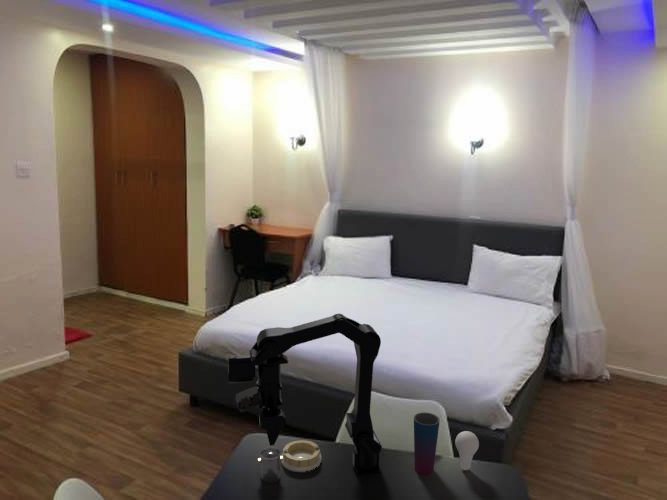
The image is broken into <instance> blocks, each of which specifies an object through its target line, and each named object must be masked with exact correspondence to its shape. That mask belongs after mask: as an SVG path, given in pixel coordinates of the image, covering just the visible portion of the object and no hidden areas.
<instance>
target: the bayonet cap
mask: <svg viewBox="0 0 667 500" xmlns="http://www.w3.org/2000/svg"><path fill="white" fill-rule="evenodd" d="M281 451H282V450H281V449H279V448H278V447H274V446H268V447H265V448H263V449H261V450H260V452H259V458H257V461H258V462H257V463H258V464H260V479H261V480H262V482H265V483H269V484H272V483H275V482H278V481H279V480H280V478H281V461H283V457H282V452H281Z"/></svg>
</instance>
